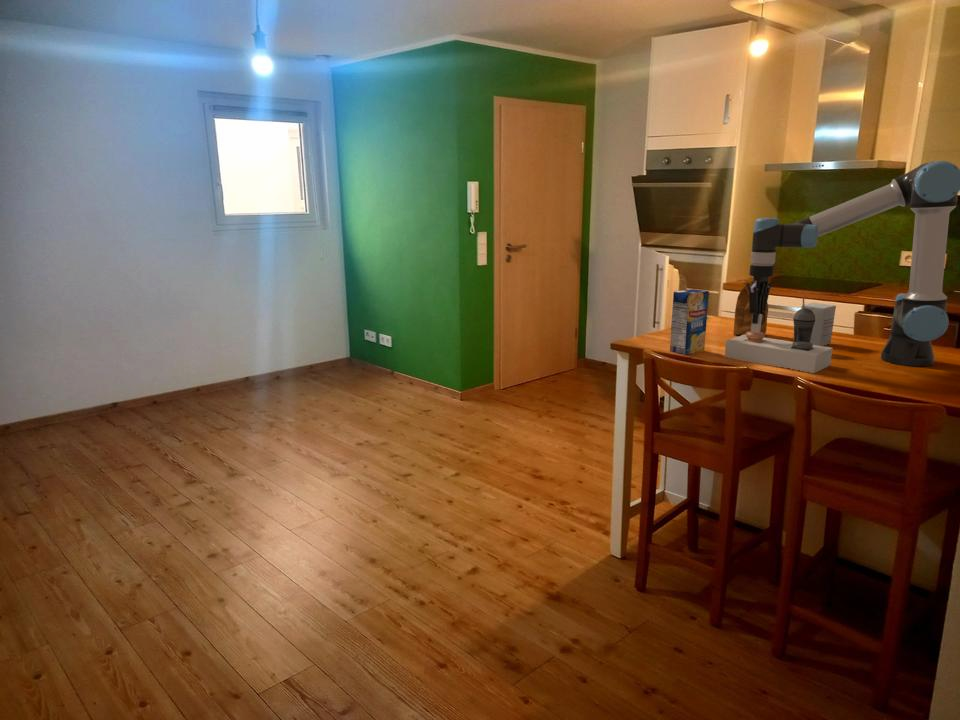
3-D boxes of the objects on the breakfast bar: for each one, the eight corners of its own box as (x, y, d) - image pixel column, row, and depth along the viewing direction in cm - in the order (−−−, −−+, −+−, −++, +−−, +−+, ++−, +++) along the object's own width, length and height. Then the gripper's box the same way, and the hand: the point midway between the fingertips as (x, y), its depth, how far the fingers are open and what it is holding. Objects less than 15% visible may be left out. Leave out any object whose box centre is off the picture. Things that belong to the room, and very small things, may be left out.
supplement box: (796, 343, 247) (800, 304, 244) (807, 340, 253) (812, 302, 249) (820, 347, 240) (825, 307, 237) (831, 344, 246) (836, 305, 242)
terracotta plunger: (766, 348, 227) (767, 333, 225) (758, 351, 223) (760, 335, 221) (749, 346, 231) (750, 330, 230) (741, 348, 227) (743, 333, 226)
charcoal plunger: (813, 359, 216) (815, 343, 214) (806, 363, 212) (808, 346, 210) (795, 356, 220) (797, 340, 218) (787, 359, 216) (789, 343, 215)
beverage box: (669, 351, 237) (673, 291, 231) (689, 347, 243) (693, 288, 237) (684, 355, 231) (689, 294, 226) (704, 350, 237) (709, 291, 232)
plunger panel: (830, 365, 216) (832, 347, 214) (814, 373, 207) (816, 355, 205) (742, 350, 237) (744, 334, 236) (724, 357, 228) (726, 340, 226)
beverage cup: (814, 353, 232) (821, 298, 227) (792, 352, 233) (798, 297, 228) (808, 348, 239) (815, 295, 234) (787, 348, 240) (793, 294, 235)
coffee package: (770, 335, 261) (775, 281, 256) (750, 339, 255) (755, 283, 249) (748, 331, 269) (753, 278, 264) (729, 334, 263) (734, 280, 258)
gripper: (759, 262, 226) (753, 328, 232) (742, 265, 218) (736, 333, 224) (781, 263, 221) (774, 331, 227) (764, 266, 212) (757, 337, 218)
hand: (755, 332), depth 225 cm, fingers closed
